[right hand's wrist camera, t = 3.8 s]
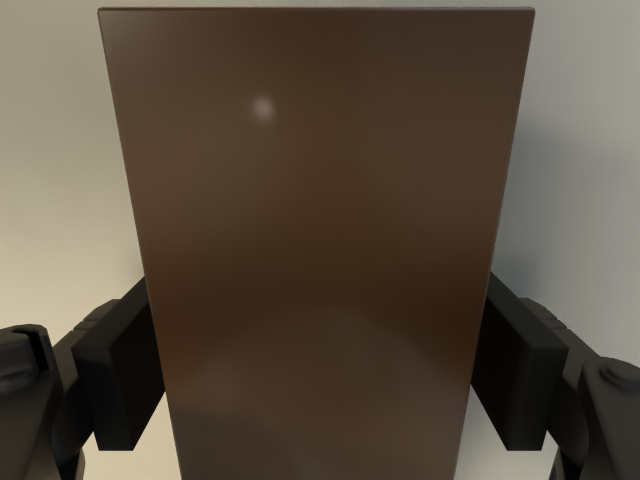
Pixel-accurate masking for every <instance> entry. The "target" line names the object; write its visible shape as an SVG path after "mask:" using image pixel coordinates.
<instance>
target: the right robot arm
mask: <svg viewBox="0 0 640 480" xmlns="http://www.w3.org/2000/svg"><path fill="white" fill-rule="evenodd" d="M471 385H472V387H473V389H474V391H475V392H476V394H477V396H478V398H479V400H480V402H481V403H482V405H483V407H484V409H485V411H486V413H487V415H488V416H489V418H490V420H491V422H492V424H493V426H494V427H495V429H496V431H497V433H498V435H499V437H500V438H501V440H502V442H503V444H504V446H505V448H506V450H507V451H541V449H542V446H543V442H544V439H545V435H546V431H547V430H548V432H549V433H550V435H551V436H552V437H553V439H554V440H555V442H556V443H557V445H558V449H557V453H556V456H555V459H554V463H553V466H552V469H551V473H550V476H549V480H640V368H639V367H637V366H634V365H632V364H630V363H627V362H624V361H621V360H617V359H614V358H607V357H600V356H599V355H598V354H597V353H596V352H594V351H593V350H592V349H591V348H590V347H589V346H588V345H587V344H585V343H584V342H583V341H582V340H581V339H580V338H579V337H578V336H577V335H575V334H574V333H573V332H572V331H571V330H570V329H567V326H565V325H564V324H563V323H562V322H561V321H560V320H557V318H556V317H555V316H554V315H553V314H552V313H551V312H550V311H549V310H548V309H546V308H545V307H544V306H542V305H540V304H538V303H536V302H534V301H532V300H530V299H529V298H518V297H517V296H516V295H515V294H514V293H512V292H511V291H510V290H509V289H508V288H507V287H506V286H505V285H504V284H503V283H502V282H501V281H500V280H499V279H498V278H497V277H496V276H495V275H494V274H493V273H492V272H491V271H490V275H489V281H488V287H487V292H486V298H485V304H484V310H483V315H482V321H481V327H480V333H479V338H478V344H477V350H476V355H475V361H474V367H473V373H472V378H471ZM165 391H166V390H165V385H164V379H163V374H162V368H161V363H160V357H159V352H158V346H157V341H156V335H155V330H154V324H153V318H152V313H151V307H150V302H149V296H148V291H147V285H146V280H145V276H144V277H143V278H142V279H141V280H140V281H139V282H138V283H137V284H136V285H135V286H134V287H133V288H132V289H131V290H130V291H129V292H128V293H127V294H125V295H124V296H123V297H122V298H121V299H112V300H110V301H108V302H107V303H105V304H103V305H101V306H99V307H97V308H95V309H94V310H93V311H92V312H91V313H90V314H89V315H88V316H86V317H85V318H84V319H83V321H81V322H80V323H79V324H78V325H77V326H75V327H74V328H73V331H70V332H69V333H68V334H67V335H65V336H64V337H63V338H62V339H61V340H60V341H59V342H58V343H57V344H55V345H54V346H53V347H52V345H51V342H50V338H49V335H48V332H47V329H46V328H45V327H43V326H41V325H35V324H25V325H16V326H12V327H8V328H4V329H0V480H83V476H84V469H85V457H84V453H83V449H82V447H83V445H84V444H85V442H86V441H87V439H88V438H89V437H90V435H91V434H92V432H93V431H94V435H95V439H96V442H97V446H98V449H99V451H133V450H134V448H135V446H136V444H137V442H138V440H139V439H140V437H141V435H142V433H143V431H144V429H145V427H146V426H147V424H148V422H149V420H150V418H151V416H152V415H153V413H154V411H155V409H156V407H157V405H158V403H159V402H160V400H161V398H162V396H163V394H164V392H165Z"/></svg>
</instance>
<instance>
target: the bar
mask: <svg viewBox="0 0 640 480" xmlns="http://www.w3.org/2000/svg"><path fill="white" fill-rule="evenodd" d="M97 14H98V19H99V25H100V30H101V36H102V42H103V47H104V53H105V58H106V64H107V69H108V75H109V80H110V86H111V91H112V97H113V102H114V108H115V114H116V119H117V125H118V130H119V136H120V141H121V147H122V152H123V158H124V163H125V169H126V174H127V180H128V186H129V191H130V197H131V202H132V208H133V213H134V219H135V224H136V230H137V235H138V241H139V246H140V252H141V258H142V263H143V269H144V274H145V280H146V285H147V291H148V296H149V302H150V307H151V313H152V318H153V324H154V330H155V335H156V341H157V346H158V352H159V357H160V363H161V368H162V374H163V379H164V385H165V390H166V396H167V402H168V407H169V413H170V418H171V424H172V429H173V435H174V440H175V446H176V451H177V457H178V462H179V468H180V474H181V479H182V480H454V476H455V470H456V464H457V459H458V453H459V447H460V441H461V436H462V430H463V424H464V418H465V413H466V407H467V401H468V396H469V390H470V384H471V378H472V373H473V367H474V361H475V355H476V350H477V344H478V338H479V333H480V327H481V321H482V315H483V310H484V304H485V298H486V292H487V287H488V281H489V275H490V270H491V264H492V258H493V252H494V247H495V241H496V235H497V229H498V224H499V218H500V212H501V207H502V201H503V195H504V189H505V184H506V178H507V172H508V166H509V161H510V155H511V149H512V144H513V138H514V132H515V126H516V121H517V115H518V109H519V103H520V98H521V92H522V86H523V81H524V75H525V69H526V63H527V58H528V52H529V46H530V40H531V35H532V29H533V23H534V17H535V9H534V8H532V7H101V8H99V9H98V11H97Z"/></svg>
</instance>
